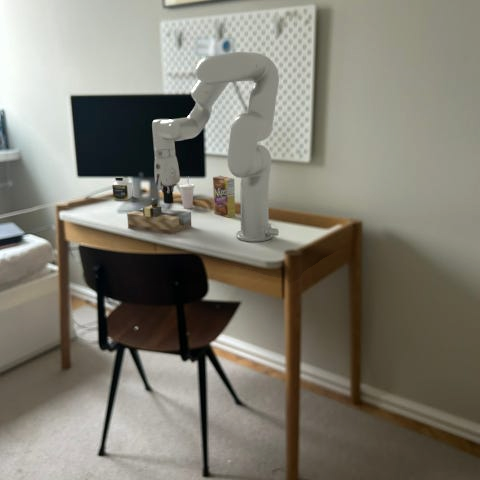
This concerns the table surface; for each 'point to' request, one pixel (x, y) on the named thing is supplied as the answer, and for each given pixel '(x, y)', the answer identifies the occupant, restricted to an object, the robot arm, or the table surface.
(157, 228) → the lock frame
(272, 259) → the table surface
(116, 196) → the medicine bottle
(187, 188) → the smoothie
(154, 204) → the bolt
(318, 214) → the table surface
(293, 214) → the table surface
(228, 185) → the candy box
